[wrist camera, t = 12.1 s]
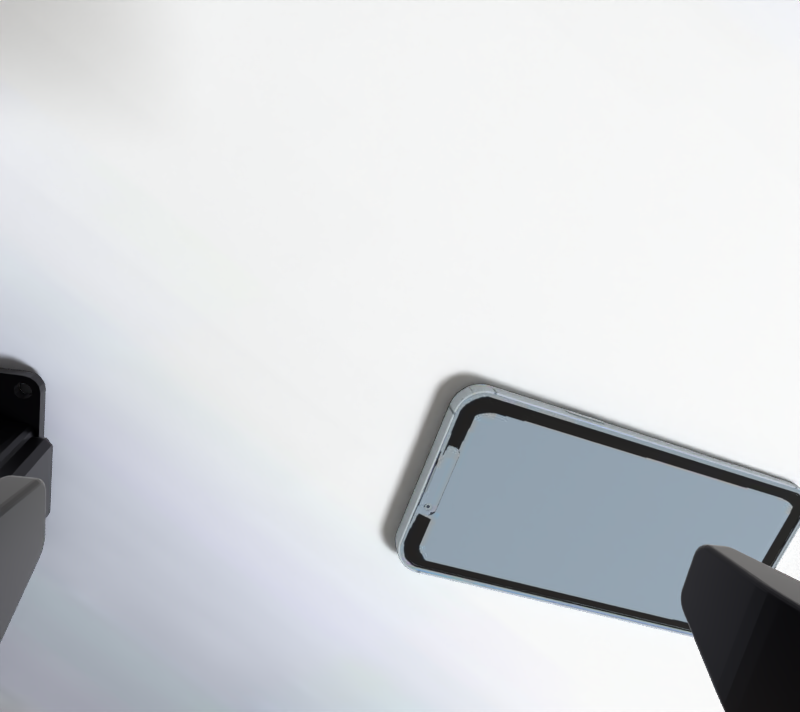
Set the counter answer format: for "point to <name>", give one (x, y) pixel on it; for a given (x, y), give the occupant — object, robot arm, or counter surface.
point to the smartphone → (581, 509)
